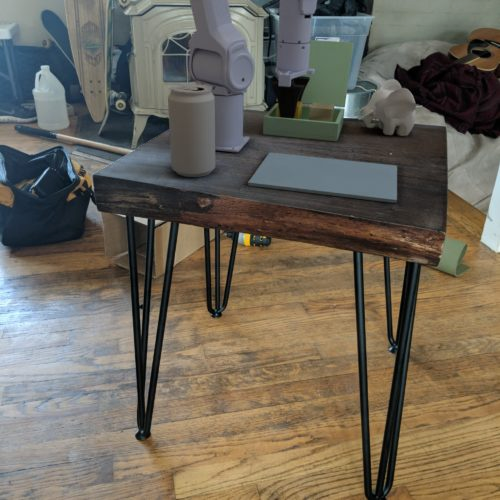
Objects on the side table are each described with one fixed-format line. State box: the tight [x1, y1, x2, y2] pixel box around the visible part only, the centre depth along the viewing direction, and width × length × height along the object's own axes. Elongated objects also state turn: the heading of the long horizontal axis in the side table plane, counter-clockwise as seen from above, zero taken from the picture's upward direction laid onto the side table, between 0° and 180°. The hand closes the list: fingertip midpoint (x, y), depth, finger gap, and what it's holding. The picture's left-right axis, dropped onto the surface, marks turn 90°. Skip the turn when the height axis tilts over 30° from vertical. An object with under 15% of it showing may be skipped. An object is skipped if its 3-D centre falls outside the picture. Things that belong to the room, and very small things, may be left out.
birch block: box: [309, 103, 335, 122], centre depth 95 cm, size 4×4×4 cm
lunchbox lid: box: [276, 39, 355, 108], centre depth 101 cm, size 12×13×3 cm
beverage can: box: [167, 83, 216, 178], centre depth 73 cm, size 6×6×12 cm
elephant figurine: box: [354, 78, 423, 137], centre depth 95 cm, size 10×12×9 cm
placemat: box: [247, 151, 398, 204], centre depth 75 cm, size 20×14×1 cm
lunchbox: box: [262, 102, 345, 142], centre depth 96 cm, size 11×13×3 cm
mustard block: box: [277, 101, 303, 119], centre depth 96 cm, size 4×4×4 cm
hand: (289, 119), depth 97 cm, fingers closed on mustard block, 4 cm apart
